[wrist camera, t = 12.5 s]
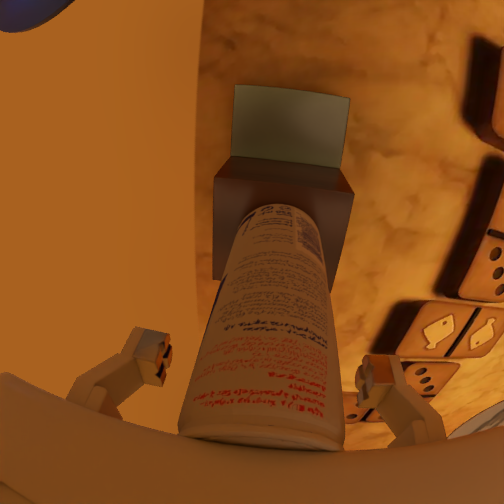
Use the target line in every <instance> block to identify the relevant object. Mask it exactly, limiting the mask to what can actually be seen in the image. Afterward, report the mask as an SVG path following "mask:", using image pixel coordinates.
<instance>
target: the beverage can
mask: <svg viewBox="0 0 504 504" xmlns="http://www.w3.org/2000/svg"><path fill="white" fill-rule="evenodd" d="M178 430H179V434H177V435H180V436H185V437H189V438H195V439H200V440H206V441H211V442H217V443H224V444H231V445H238V446H247V447H256V448H266V449H279V450H297V451H345V450H344V448H343V444H344V440H345V421H344V408H343V397H342V386H341V376H340V367H339V358H338V349H337V341H336V333H335V326H334V319H333V311H332V305H331V298H330V291H329V285H328V279H327V273H326V267H325V261H324V255H323V249H322V244H321V238H320V234H319V230H318V228H317V226H316V224H315V222H314V221H313V220H312V219H311V218H310V216H308V215H307V214H306V213H305V212H303V211H302V210H300V209H298V208H296V207H293V206H290V205H285V204H270V205H265V206H262V207H259V208H257V209H255V210H253V211H252V212H251V213H249V214H248V215H247V216H246V217H245V218H244V219H243V220H242V222H241V224H240V225H239V228H238V230H237V234H236V237H235V240H234V243H233V246H232V249H231V252H230V255H229V258H228V261H227V264H226V267H225V271H224V274H223V277H222V280H221V283H220V286H219V289H218V292H217V295H216V299H215V302H214V305H213V308H212V311H211V314H210V318H209V321H208V324H207V327H206V330H205V333H204V337H203V340H202V343H201V346H200V350H199V353H198V356H197V359H196V363H195V366H194V369H193V373H192V376H191V379H190V382H189V386H188V389H187V393H186V396H185V399H184V402H183V406H182V409H181V413H180V416H179V421H178Z"/></svg>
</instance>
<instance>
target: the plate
mask: <svg viewBox="0 0 504 504" xmlns="http://www.w3.org/2000/svg"><path fill="white" fill-rule="evenodd" d="M498 426H504V401H502V402H500V403H497V404H495V405H493V406H491V407H489V408H488V409H486V410H484V411H482V412H481V413H479V414H477V415H476V416H474V417H472V418H471V419H469V420H468V421H466V422H465V423H464V424H462V425H461V426H459V427H458V428H457V429H456V430H455V431H453V432H452V433H451V434H450V435H449V436H448V438H447V439H451V438H456V437H460V436H464V435H469V434H473V433H477V432H480V431H484V430H488V429H491V428H495V427H498Z"/></svg>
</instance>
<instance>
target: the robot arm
mask: <svg viewBox="0 0 504 504" xmlns="http://www.w3.org/2000/svg"><path fill="white" fill-rule="evenodd" d="M169 342H170V334H167V333H163V332H158V331H154V330H149V329H145V328H140V327H135V328H134V329H133V330H132V332H131V334H130V336H129V338H128V340H127V342H126V344H125V346H124V347H123V349H122V351H121V353H120V354H118V353H117V354H115V355H114V356H112V357H110V358H109V359H107V360H105V361H104V362H102V363H101V364H99V365H97V366H96V367H94V368H92V369H91V370H89V371H87V372H86V373H84V374H82V375H81V376H79V377H77V379H76V381H75V382H74V384H73V386H72V388H71V390H70V392H69V394H68V396H67V397H66V399H63V398H60V397H58V396H55V395H53V394H51V393H49V392H47V391H45V390H42V389H40V388H38V387H36V386H34V385H32V384H30V383H28V382H26V381H24V380H22V379H20V378H18V377H16V376H15V375H13V374H11V373H7V372H4V373H1V374H0V504H504V426H498V427H495V428H491V429H488V430H484V431H480V432H477V433H473V434H469V435H464V436H460V437H456V438H451V439H447V437H446V433H445V429H444V425H443V421H442V417H441V416H440V415H439V414H438V413H437V412H436V411H435V410H434V409H433V408H432V406H431V405H430V404H429V403H428V402H427V401H426V400H425V399H424V398H423V397H422V396H421V395H419V394H418V393H417V392H416V391H415V390H414V389H413V388H412V387H411V386H410V385H407V383H406V380H405V376H404V372H403V369H402V365H401V362H400V358H399V356H398V355H365V356H364V357H363V359H362V365H360V366H359V367H358V369H357V371H356V375H355V386H356V388H357V389H358V390H359V393H358V394H357V401H358V408H376V410H377V411H378V413H379V414H380V415H381V417H382V418H383V419H384V421H385V422H386V424H387V425H388V426H389V428H390V429H391V430H392V432H393V433H394V435H395V436H396V437H397V438H396V439H395V440H393V441H392V442H391V443H390V444H389V445H388V448H384V449H371V450H354V451H297V450H279V449H266V448H256V447H247V446H238V445H231V444H224V443H217V442H211V441H206V440H200V439H195V438H189V437H185V436H180V435H175V434H171V433H166V432H163V431H158V430H155V429H151V428H147V427H143V426H140V425H136V424H133V423H130V422H126V421H123V418H122V416H121V415H120V413H119V411H118V409H117V408H116V407H117V406H118V405H120V404H121V403H122V402H123V401H124V400H125V399H127V398H128V397H129V396H130V395H132V394H133V393H134V392H135V391H137V390H138V389H139V388H140V387H141V386H143V385H144V383H145V384H149V385H154V386H159V387H162V386H163V384H164V381H165V378H166V369H167V368H169V367H170V364H171V361H172V346H171V345H170V344H169Z"/></svg>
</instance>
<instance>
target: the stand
mask: <svg viewBox="0 0 504 504" xmlns="http://www.w3.org/2000/svg"><path fill="white" fill-rule="evenodd" d="M349 105H350V98H347V97H342V96H337V95H331V94H325V93H318V92H311V91H304V90H296V89H288V88H278V87H268V86H255V85H237V84H236V85H235V89H234V104H233V120H232V136H231V154H230V155H231V156H230V158H229V159H228V160H227V161H226V163H225V164H224V165H223V166H222V168H221V169H220V170H219V171H218V173H217V174H216V175H215V176H214V191H213V280H220V281H221V280H222V277H223V274H224V271H225V267H226V264H227V261H228V258H229V255H230V252H231V249H232V246H233V243H234V240H235V237H236V234H237V230H238V228H239V225H240V224H241V222H242V220H243V219H244V218H245V217H246V216H247V215H248V214H249V213H251V212H252V211H253V210H255V209H257V208H259V207H262V206H265V205H270V204H285V205H290V206H293V207H296V208H298V209H300V210H302V211H303V212H305V213H306V214H307V215H308V216H310V218H311V219H312V220H313V221H314V222H315V224H316V226H317V228H318V230H319V234H320V238H321V244H322V249H323V255H324V261H325V267H326V273H327V279H328V285H329V291H330V293H331V290H332V286H333V282H334V279H335V275H336V271H337V268H338V264H339V260H340V256H341V252H342V248H343V244H344V240H345V235H346V231H347V227H348V223H349V218H350V214H351V209H352V204H353V200H354V195H355V194H354V192H353V190H352V189H351V187H350V185H349V184H348V182H347V180H346V179H345V177H344V175H343V174H342V172H341V170H340V166H341V160H342V154H343V147H344V141H345V134H346V127H347V120H348V113H349Z"/></svg>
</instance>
